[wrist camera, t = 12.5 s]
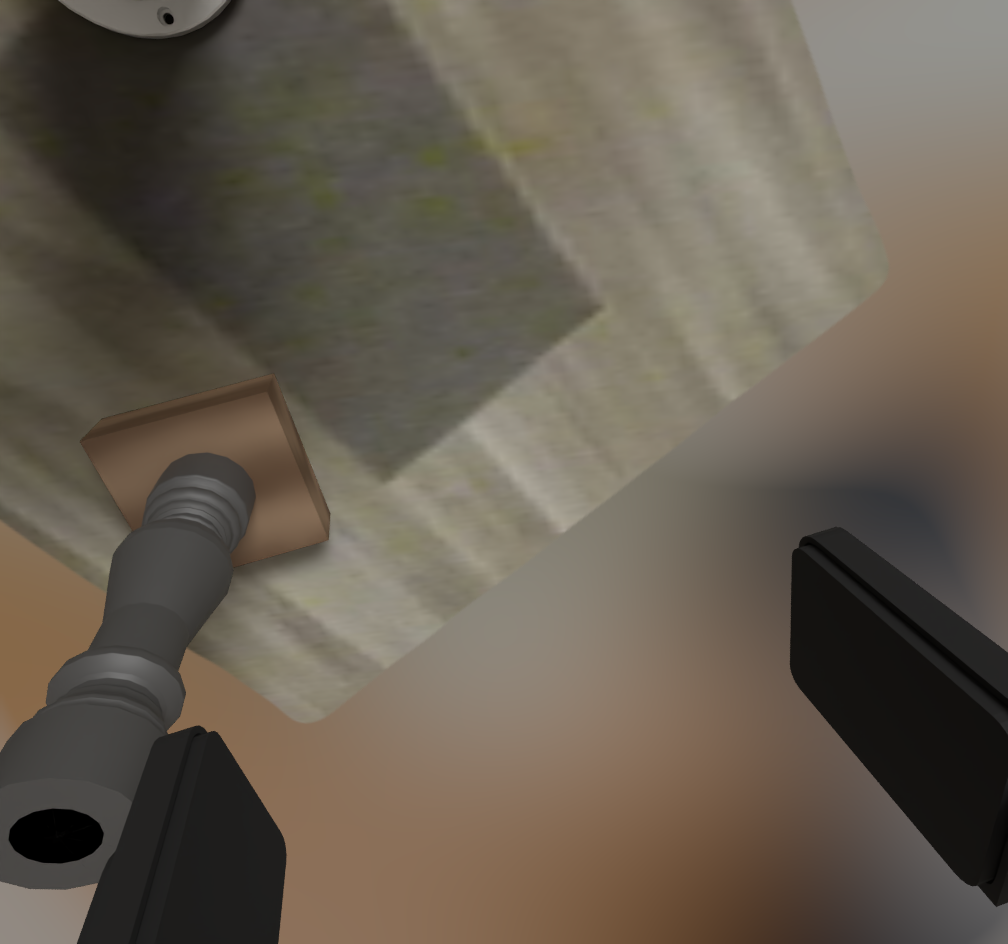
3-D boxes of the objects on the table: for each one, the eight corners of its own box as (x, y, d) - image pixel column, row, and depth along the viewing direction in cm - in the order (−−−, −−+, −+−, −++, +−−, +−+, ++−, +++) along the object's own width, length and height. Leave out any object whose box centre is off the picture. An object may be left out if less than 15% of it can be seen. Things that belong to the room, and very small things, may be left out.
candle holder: (271, 475, 44) (186, 795, 22) (233, 544, 45) (120, 905, 23) (179, 436, 41) (-21, 753, 19) (143, 511, 43) (-78, 879, 21)
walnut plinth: (102, 418, 44) (79, 441, 40) (273, 373, 45) (267, 391, 41) (179, 556, 49) (165, 587, 46) (330, 513, 50) (328, 540, 47)
